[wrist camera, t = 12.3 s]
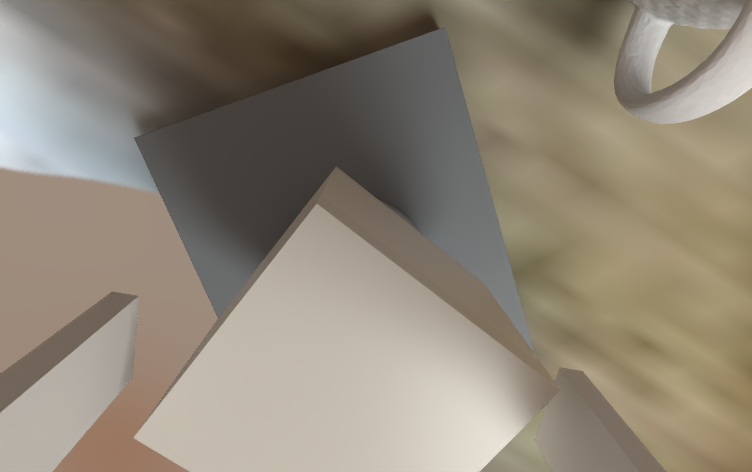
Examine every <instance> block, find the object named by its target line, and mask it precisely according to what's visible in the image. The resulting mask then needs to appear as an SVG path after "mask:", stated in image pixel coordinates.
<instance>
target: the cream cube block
mask: <svg viewBox="0 0 752 472" xmlns="http://www.w3.org/2000/svg"><path fill="white" fill-rule="evenodd" d="M560 391H561V390H560V388H559V387H558V386H557V384H556V383H555V381H554V380H553V379H552V377H551V376H550V374H549V373H548V372H547V370H546V369H545V368H544V366H543V365H542V363H541V362H540V361H539V359H538V358H537V356H536V355H535V354H534V352H533V351H532V349H531V348H530V347H529V345H528V344H527V342H526V341H525V340H524V338H523V337H522V336H521V334H520V333H519V331H518V330H517V329H516V327H515V326H514V324H513V323H512V322H511V320H510V319H509V317H508V316H507V315H506V313H505V312H504V311H503V309H502V308H501V306H500V305H499V304H498V302H497V301H496V299H495V298H494V297H493V295H492V294H491V292H490V291H489V290H488V288H487V287H486V285H485V284H484V283H483V282H482V281H481V280H479V279H478V278H477V277H475V276H474V275H473V274H472V273H470V272H469V271H468V270H467V269H465V268H464V267H463V266H462V265H460V264H459V263H458V262H457V261H455V260H454V259H453V258H451V257H450V256H449V255H448V254H446V253H445V252H444V251H443V250H441V249H440V248H439V247H438V246H436V245H435V244H434V243H432V242H431V241H430V240H429V239H427V238H426V237H425V236H424V235H422V234H421V233H420V232H419V231H417V230H416V229H415V228H413V227H412V226H411V225H410V224H408V223H407V222H406V221H405V220H403V219H402V218H401V217H400V216H398V215H397V214H396V213H395V212H393V211H392V210H391V209H389V208H388V207H387V206H386V205H384V204H383V203H382V202H381V201H379V200H378V199H377V198H376V197H374V196H373V195H372V194H370V193H369V192H368V191H367V190H365V189H364V188H363V187H362V186H360V185H359V184H358V183H357V182H355V181H354V180H353V179H352V178H350V177H349V176H348V175H346V174H345V173H344V172H343V171H341V170H340V169H339V168H338V167H335V169H334V170H333V171H332V172H331V174H330V175H329V176H328V178H327V179H326V180H325V181H324V183H323V184H322V185H321V187H320V188H319V189H318V190H317V192H316V193H315V194H314V196H313V197H312V198H311V199H310V201H309V202H308V203H307V205H306V206H305V207H304V208H303V210H302V211H301V212H300V214H299V215H298V216H297V217H296V219H295V220H294V221H293V223H292V224H291V225H290V226H289V228H288V229H287V230H286V232H285V233H284V234H283V235H282V237H281V238H280V239H279V241H278V242H277V243H276V244H275V246H274V247H273V248H272V250H271V251H270V252H269V253H268V255H267V256H266V257H265V259H264V260H263V261H262V262H261V264H260V265H259V266H258V268H257V269H256V270H255V271H254V273H253V274H252V275H251V277H250V278H249V279H248V280H247V282H246V283H245V284H244V286H243V287H242V288H241V289H240V291H239V292H238V293H237V295H236V296H235V297H234V298H233V300H232V301H231V302H230V304H229V305H228V306H227V307H226V309H225V310H224V311H223V313H222V314H221V315H220V317H219V318H218V320H217V321H216V322H215V324H214V325H213V327H212V328H211V330H210V331H209V332H208V334H207V335H206V337H205V338H204V340H203V341H202V342H201V344H200V345H199V346H198V348H197V349H196V351H195V352H194V354H193V355H192V356H191V358H190V359H189V361H188V362H187V363H186V365H185V366H184V367H183V369H182V370H181V372H180V373H179V374H178V376H177V377H176V379H175V380H174V382H173V383H172V384H171V386H170V387H169V389H168V390H167V391H166V393H165V394H164V396H163V397H162V398H161V400H160V401H159V403H158V404H157V405H156V407H155V408H154V410H153V411H152V413H151V414H150V415H149V417H148V418H147V420H146V421H145V423H144V424H143V425H142V427H141V428H140V429H139V431H138V432H137V434H136V435H135V436H134V439H136V440H138V441H139V442H141V443H143V444H144V445H146V446H148V447H150V448H151V449H153V450H155V451H156V452H158V453H160V454H161V455H163V456H165V457H166V458H168V459H170V460H171V461H173V462H175V463H176V464H178V465H180V466H181V467H183V468H185V469H186V470H188V471H190V472H479V471H480V470H481V469H482V468H483V467H484V466H485V465H486V464H487V463H488V462H489V461H490V460H491V459H492V458H493V457H494V456H495V455H496V454H497V453H498V452H499V451H500V450H501V449H502V448H503V447H504V446H505V445H506V444H507V443H508V442H509V441H510V440H511V439H512V438H513V437H514V436H515V435H516V434H517V433H518V432H519V431H520V430H521V429H522V428H523V427H524V426H525V425H526V424H528V423H529V422H530V421H531V420H532V419H533V418H534V417H535V416H536V415H537V414H538V413H539V412H540V411H541V410H542V409H543V408H544V407H545V406H546V405H547V404H548V403H549V402H550V401H551V400H552V399H553V398H554V397H555V396H556V395H557V394H558V393H559V392H560Z"/></svg>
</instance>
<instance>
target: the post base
mask: <svg viewBox="0 0 752 472" xmlns="http://www.w3.org/2000/svg"><path fill="white" fill-rule="evenodd" d="M134 139H135V141H136V143H137V145H138V147H139V149H140V151H141V154H142V156H143V158H144V160H145V162H146V164H147V167H148V169H149V171H150V173H151V175H152V177H153V179H154V182H155V184H156V186H157V188H158V190H159V192H160V194H161V197H162V199H163V201H164V203H165V205H166V207H167V210H168V212H169V214H170V216H171V218H172V220H173V222H174V224H175V227H176V229H177V231H178V233H179V235H180V237H181V240H182V241H183V244H184V246H185V248H186V250H187V252H188V255H189V257H190V259H191V261H192V263H193V265H194V267H195V270H196V272H197V274H198V276H199V278H200V280H201V283H202V285H203V287H204V289H205V291H206V293H207V295H208V298H209V300H210V302H211V304H212V306H213V308H214V311H215V313H216V315H217V317H218V318H219V317H220V315H221V314H222V313H223V311H224V310H225V309H226V307H227V306H228V305H229V304H230V302H231V301H232V300H233V298H234V297H235V296H236V295H237V293H238V292H239V291H240V289H241V288H242V287H243V286H244V284H245V283H246V282H247V280H248V279H249V278H250V277H251V275H252V274H253V273H254V271H255V270H256V269H257V268H258V266H259V265H260V264H261V262H262V261H263V260H264V259H265V257H266V256H267V255H268V253H269V252H270V251H271V250H272V248H273V247H274V246H275V244H276V243H277V242H278V241H279V239H280V238H281V237H282V235H283V234H284V233H285V232H286V230H287V229H288V228H289V226H290V225H291V224H292V223H293V221H294V220H295V219H296V217H297V216H298V215H299V214H300V212H301V211H302V210H303V208H304V207H305V206H306V205H307V203H308V202H309V201H310V199H311V198H312V197H313V196H314V194H315V193H316V192H317V190H318V189H319V188H320V187H321V185H322V184H323V183H324V181H325V180H326V179H327V178H328V176H329V175H330V174H331V172H332V171H333V170H334V169H335V167H338V168H339V169H340V170H341V171H343V172H344V173H345V174H346V175H348V176H349V177H350V178H352V179H353V180H354V181H355V182H357V183H358V184H359V185H360V186H362V187H363V188H364V189H365V190H367V191H368V192H369V193H370V194H372V195H373V196H374V197H376V198H377V199H378V200H379V201H381V202H382V203H383V204H384V205H386V206H387V207H388V208H389V209H391V210H392V211H393V212H395V213H396V214H397V215H398V216H400V217H401V218H402V219H403V220H405V221H406V222H407V223H408V224H410V225H411V226H412V227H413V228H415V229H416V230H417V231H419V232H420V233H421V234H422V235H424V236H425V237H426V238H427V239H429V240H430V241H431V242H432V243H434V244H435V245H436V246H438V247H439V248H440V249H441V250H443V251H444V252H445V253H446V254H448V255H449V256H450V257H451V258H453V259H454V260H455V261H457V262H458V263H459V264H460V265H462V266H463V267H464V268H465V269H467V270H468V271H469V272H470V273H472V274H473V275H474V276H475V277H477V278H478V279H479V280H481V281H482V282H483V283H484V284H485V285H486V287H487V288H488V290H489V291H490V292H491V294H492V295H493V297H494V298H495V299H496V301H497V302H498V304H499V305H500V306H501V308H502V309H503V311H504V312H505V313H506V315H507V316H508V317H509V319H510V320H511V322H512V323H513V324H514V326H515V327H516V329H517V330H518V331H519V333H520V334H521V336H522V337H523V338H524V340H525V341H526V342H527V344H528V345H529V347H530V348H531V349H532V351H533V352H534V350H533V346H532V343H531V339H530V335H529V332H528V328H527V324H526V321H525V317H524V313H523V310H522V306H521V302H520V299H519V295H518V292H517V288H516V284H515V281H514V277H513V273H512V270H511V266H510V262H509V259H508V255H507V251H506V248H505V244H504V241H503V237H502V233H501V230H500V226H499V222H498V219H497V215H496V211H495V208H494V204H493V201H492V197H491V193H490V190H489V186H488V182H487V179H486V175H485V171H484V168H483V164H482V160H481V157H480V153H479V150H478V146H477V142H476V139H475V135H474V131H473V128H472V124H471V120H470V117H469V113H468V109H467V106H466V102H465V99H464V95H463V91H462V88H461V84H460V80H459V77H458V73H457V69H456V66H455V62H454V58H453V55H452V51H451V48H450V44H449V40H448V37H447V33H446V29H445V27H444V28H441V29H438V30H435V31H432V32H430V33H427V34H424V35H421V36H418V37H416V38H413V39H410V40H407V41H404V42H401V43H399V44H396V45H393V46H390V47H387V48H385V49H382V50H379V51H376V52H373V53H371V54H368V55H365V56H362V57H359V58H357V59H354V60H351V61H348V62H345V63H343V64H340V65H337V66H334V67H331V68H329V69H326V70H323V71H320V72H317V73H315V74H312V75H309V76H306V77H303V78H301V79H298V80H295V81H292V82H289V83H287V84H284V85H281V86H278V87H275V88H273V89H270V90H267V91H264V92H261V93H259V94H256V95H253V96H250V97H247V98H245V99H242V100H239V101H236V102H233V103H231V104H228V105H225V106H222V107H219V108H216V109H214V110H211V111H208V112H205V113H202V114H200V115H197V116H194V117H191V118H188V119H186V120H183V121H180V122H177V123H174V124H172V125H169V126H166V127H163V128H160V129H158V130H155V131H152V132H149V133H146V134H144V135H141V136H138V137H135V138H134ZM534 354H535V353H534Z"/></svg>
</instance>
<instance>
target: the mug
mask: <svg viewBox="0 0 752 472" xmlns="http://www.w3.org/2000/svg"><path fill="white" fill-rule="evenodd" d="M628 1H629V2H630V3H632V4H633V5H634V6H635V11H634V13H633V15H632V18H631V21H630V23H629V26H628V29H627V32H626V35H625V37H624V40H623V43H622V46H621V48H620V51H619V56H618V60H617V64H616V70H615V76H614V89H615V94H616V97H617V99H618V101H619V102H620V104H621V105H622V106H623V107H624V108H625V109H626V110H627V111H629V112H630V113H632V114H633V115H635V116H637V117H639V118H641V119H644V120H646V121H650V122H655V123H664V124H670V123H679V122H685V121H689V120H693V119H695V118H698V117H701V116H704V115H706V114H709V113H711V112H713V111H715V110H717V109H719V108H721V107H723V106H725V105H726V104H728V103H730V102H732V101H733V100H735V99H737V98H738V97H739V96H741V95H742V94H744V93H745V92H746V91H748V90H749V89H751V88H752V0H628ZM674 23H675V24H677V25H685V26H693V27H696V28H700V29H705V28H714V29H720V30H725V29H730V31H729V32H728V34H727V36H726V37H725V39H724V40H723V41H722V42H721V43H720V45H719V46H718V47H717V48H716V49H715V51H714V52H713V53H712V54H711V55H710V56H709V57H708V58H707V59H706V60H705V61H704V62H703V63H701V64H700V65H699V66H698V67H697V68H696V69H695V70H694V71H692V72H691V73H690V74H688V75H687V76H686V77H684V78H683V79H681V80H679V81H678V82H676V83H674V84H673V85H671V86H669V87H667V88H665V89H662V90H660V91H657V92H654V93H651V78H652V72H653V67H654V63H655V59H656V56H657V53H658V51H659V49H660V47H661V44H662V41H663V39H664V38H665V36H666V34H667V32H668V29H669V27H670V26H671V25H672V24H674Z"/></svg>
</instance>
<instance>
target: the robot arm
mask: <svg viewBox="0 0 752 472" xmlns="http://www.w3.org/2000/svg"><path fill="white" fill-rule="evenodd" d="M138 299H139V296H135V295H129V294H123V293H117V292H111V293H110V294H108V295H107V296H106V297H104V298H103V299H101V300H100V301H99V302H97V303H96V304H95V305H93V306H92V307H91V308H89V309H88V310H86V311H85V312H84V313H82V314H81V315H80V316H78V317H77V318H76V319H74V320H73V321H72V322H70V323H69V324H67V325H66V326H65V327H63V328H62V329H61V330H60V331H58V332H57V333H55V334H54V335H53V336H51V337H50V338H49V339H47V340H46V341H44V342H43V343H42V344H40V345H39V346H38V347H37V348H35V349H33V350H32V351H31V352H29V353H28V354H27V355H25V356H24V357H23V358H21V359H20V360H18V361H17V362H16V363H14V364H13V365H12V366H10V367H9V368H8V369H6V370H5V371H4V372H2V373H0V472H52V471H53V470H54V469H55V468H56V467H57V466H58V464H59V463H60V462H61V461H62V460H63V458H64V457H65V456H66V455H67V454H68V453H69V451H70V450H71V449H72V448H73V447H74V445H75V444H76V443H77V442H78V441H79V440H80V438H81V437H82V436H83V435H84V434H85V433H86V432H87V430H88V429H89V428H90V427H91V426H92V424H93V423H94V422H95V421H96V420H97V419H98V417H99V416H100V415H101V414H102V413H103V412H104V410H105V409H106V408H107V407H108V406H109V404H110V403H111V402H112V401H113V400H114V399H115V397H116V396H117V395H118V394H119V393H120V392H121V390H122V389H123V388H124V387H125V386H126V385H127V383H128V382H129V381H130V380H131V379H132V378H133V369H134V356H135V342H136V326H137V314H138ZM555 383H556V384H557V386H558V387H559V388H560V390H561V391H560V392H559V393H558V394H557V395H556V396H555V397H554V398H553V399H552V400H551V401H550V402H549V403H548V404H547V406H546V409H545V412H544V414H543V417H542V420H541V423H540V426H539V429H538V432H537V435H536V438H535V441H536V443H537V444H538V446H539V448H540V450H541V452H542V454H543V456H544V458H545V460H546V462H547V464H548V466H549V468H550V470H551V471H552V472H666V471H665V470H664V469H663V467H662V466H661V465H660V464H659V463H658V461H657V460H656V459H655V458H654V457H653V455H652V454H651V453H650V452H649V451H648V449H647V448H646V447H645V446H644V445H643V443H642V442H641V441H640V440H639V439H638V437H637V436H636V435H635V434H634V433H633V431H632V430H631V429H630V428H629V427H628V425H627V424H626V423H625V422H624V421H623V419H622V418H621V417H620V416H619V414H618V413H617V412H616V411H615V410H614V408H613V407H612V406H611V405H610V404H609V402H608V401H607V400H606V399H605V398H604V396H603V395H602V394H601V393H600V392H599V390H598V389H597V388H596V387H595V386H594V384H593V383H592V382H591V381H590V380H589V378H588V377H587V376H586V375H585V374H584V372H583V371H578V370H572V369H567V368H561V367H560V368H559V371H558V374H557V377H556V380H555Z"/></svg>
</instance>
